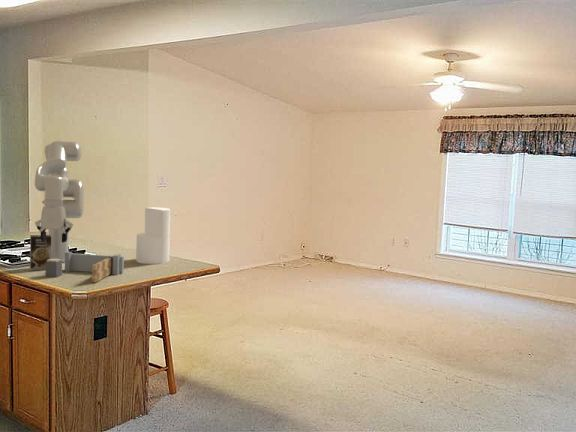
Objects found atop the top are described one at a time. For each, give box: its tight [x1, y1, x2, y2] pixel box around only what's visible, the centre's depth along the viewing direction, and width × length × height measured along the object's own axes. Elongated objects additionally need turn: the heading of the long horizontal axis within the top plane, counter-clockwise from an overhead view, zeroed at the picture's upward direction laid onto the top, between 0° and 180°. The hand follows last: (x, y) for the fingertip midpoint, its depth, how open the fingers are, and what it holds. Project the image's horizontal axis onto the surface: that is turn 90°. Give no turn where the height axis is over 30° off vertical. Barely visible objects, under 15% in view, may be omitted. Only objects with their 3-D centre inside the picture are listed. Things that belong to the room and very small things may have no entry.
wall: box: [64, 251, 125, 276], centre depth 262 cm, size 28×4×9 cm, turn 85°
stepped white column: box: [135, 206, 171, 265], centre depth 295 cm, size 17×17×28 cm
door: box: [91, 255, 113, 283], centre depth 251 cm, size 20×2×8 cm, turn 177°
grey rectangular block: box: [45, 258, 63, 278], centre depth 251 cm, size 5×5×8 cm
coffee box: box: [29, 234, 51, 271], centre depth 264 cm, size 9×6×16 cm
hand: (53, 241), depth 250 cm, fingers open, 9 cm apart
